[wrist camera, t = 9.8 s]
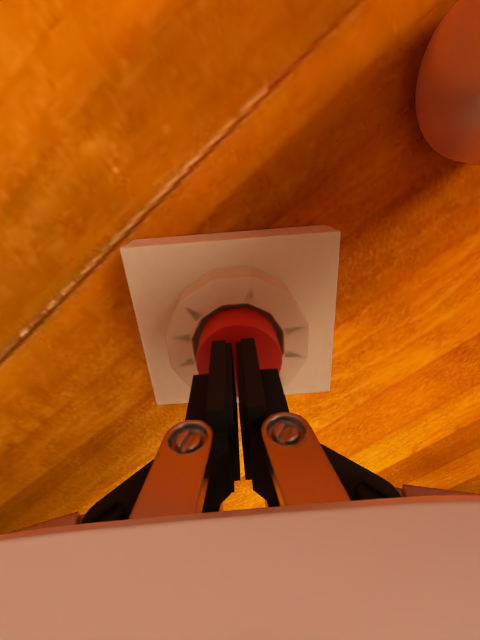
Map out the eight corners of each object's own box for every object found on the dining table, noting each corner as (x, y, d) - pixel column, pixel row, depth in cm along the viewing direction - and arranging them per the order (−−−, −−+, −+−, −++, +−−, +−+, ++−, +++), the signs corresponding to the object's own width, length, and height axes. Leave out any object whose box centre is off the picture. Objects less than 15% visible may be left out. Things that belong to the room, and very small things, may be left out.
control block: (327, 224, 15) (357, 237, 12) (319, 370, 19) (340, 414, 16) (132, 239, 15) (103, 257, 12) (163, 382, 19) (148, 429, 16)
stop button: (275, 303, 13) (282, 320, 12) (277, 371, 15) (282, 394, 13) (194, 310, 13) (189, 327, 12) (204, 377, 15) (201, 400, 13)
